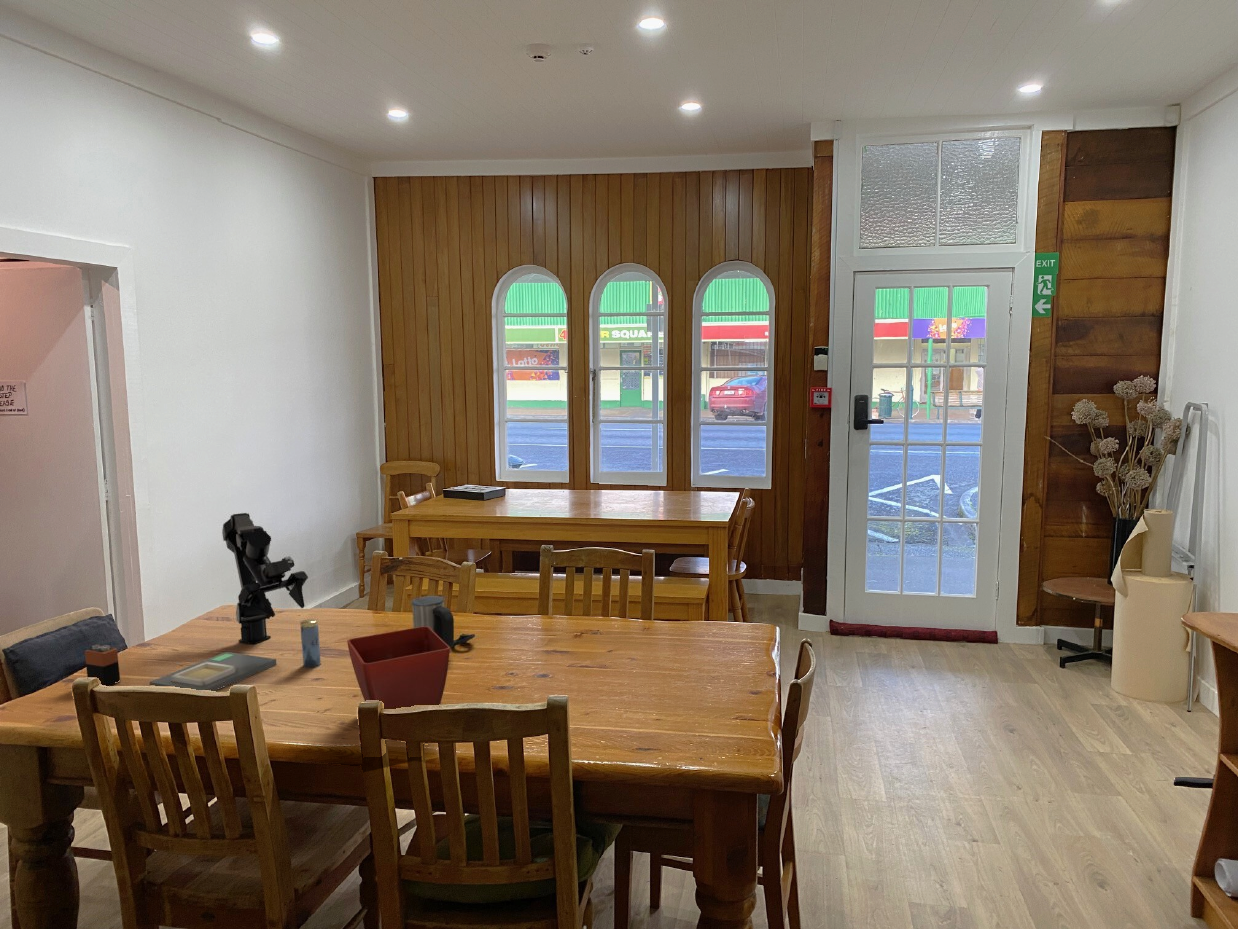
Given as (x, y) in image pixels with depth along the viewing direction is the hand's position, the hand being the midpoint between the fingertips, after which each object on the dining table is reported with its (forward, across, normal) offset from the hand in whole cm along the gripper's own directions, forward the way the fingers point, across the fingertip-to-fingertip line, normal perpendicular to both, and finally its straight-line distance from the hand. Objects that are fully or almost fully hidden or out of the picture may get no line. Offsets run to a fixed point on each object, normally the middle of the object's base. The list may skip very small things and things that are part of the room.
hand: (289, 611), depth 235 cm
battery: (-10, -36, +29) cm, 47 cm away
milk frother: (+31, +27, -12) cm, 43 cm away
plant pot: (+48, -11, -29) cm, 57 cm away
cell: (+15, 0, +4) cm, 16 cm away
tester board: (+4, -18, +15) cm, 24 cm away
